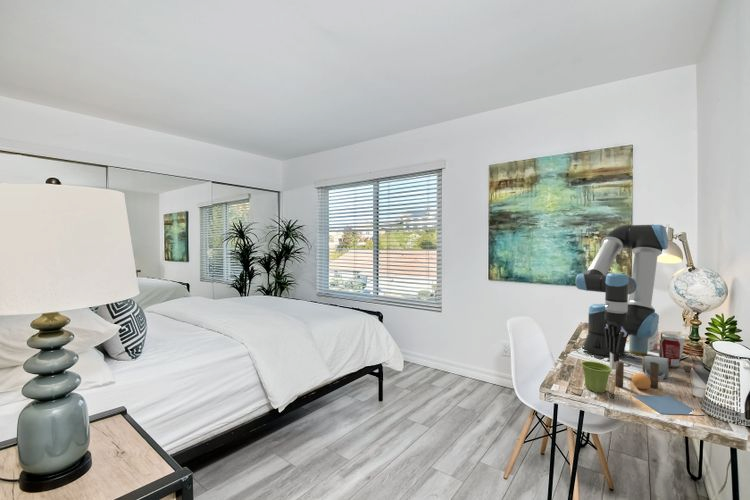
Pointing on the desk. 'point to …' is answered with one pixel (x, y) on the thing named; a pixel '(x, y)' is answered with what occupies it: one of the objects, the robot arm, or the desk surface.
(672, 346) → the red labelled jar
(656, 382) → the post
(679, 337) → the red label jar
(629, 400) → the desk surface
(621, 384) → the post
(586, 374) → the plant pot
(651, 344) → the ink cartridge box
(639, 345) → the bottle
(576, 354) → the desk surface
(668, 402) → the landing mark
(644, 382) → the orange round fruit
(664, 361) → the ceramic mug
